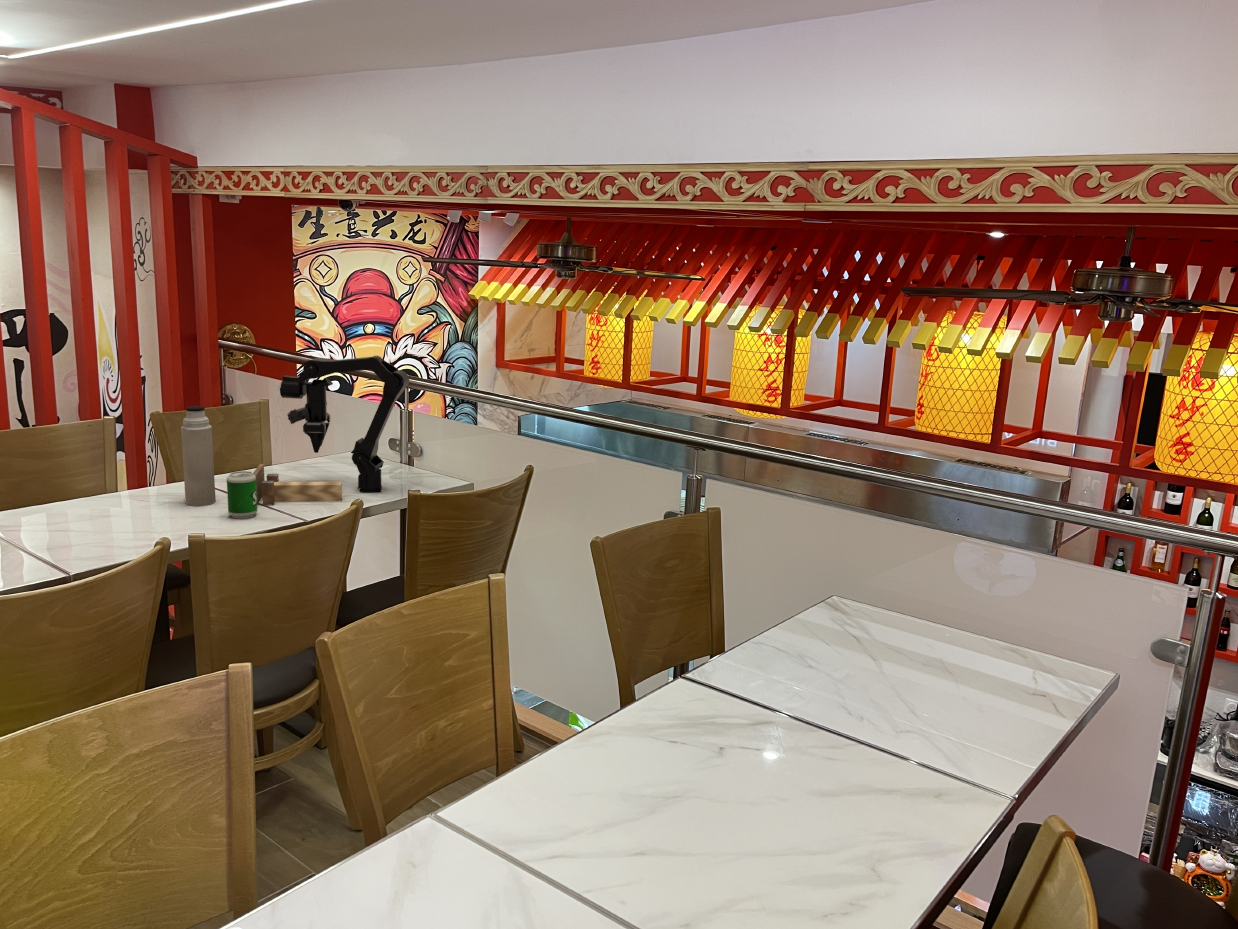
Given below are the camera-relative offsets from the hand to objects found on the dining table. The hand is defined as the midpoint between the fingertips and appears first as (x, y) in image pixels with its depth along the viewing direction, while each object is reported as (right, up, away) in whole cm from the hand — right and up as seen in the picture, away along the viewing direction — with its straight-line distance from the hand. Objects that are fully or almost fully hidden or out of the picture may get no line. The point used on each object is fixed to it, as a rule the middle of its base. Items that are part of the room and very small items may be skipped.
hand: (317, 449), depth 293 cm
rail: (0, -15, -12) cm, 19 cm away
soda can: (-11, -19, -30) cm, 37 cm away
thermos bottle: (-28, -16, -20) cm, 37 cm away
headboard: (-10, -15, -14) cm, 23 cm away
